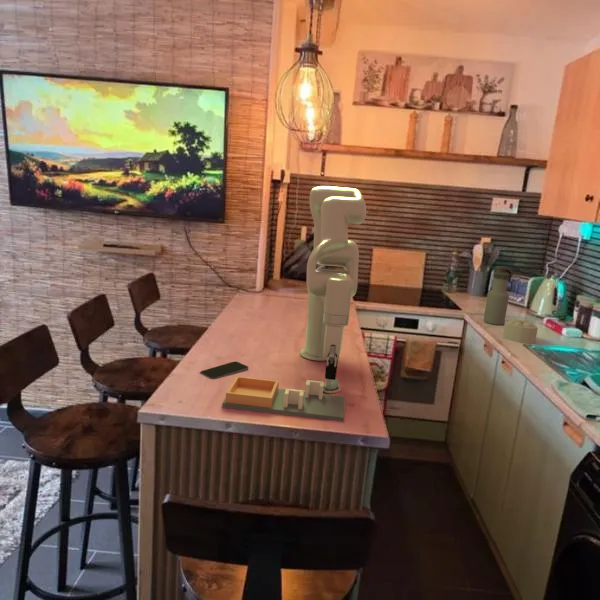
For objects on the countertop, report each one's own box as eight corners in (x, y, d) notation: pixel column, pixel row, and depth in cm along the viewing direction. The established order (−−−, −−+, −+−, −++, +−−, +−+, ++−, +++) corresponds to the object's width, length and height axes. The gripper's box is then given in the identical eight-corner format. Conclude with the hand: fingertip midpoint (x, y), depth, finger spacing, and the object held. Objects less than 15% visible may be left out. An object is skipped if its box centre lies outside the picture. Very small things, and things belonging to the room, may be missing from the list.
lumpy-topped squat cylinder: (510, 334, 238) (513, 315, 236) (539, 341, 229) (542, 322, 227) (500, 337, 231) (503, 319, 229) (529, 345, 222) (533, 326, 220)
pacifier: (345, 391, 160) (330, 384, 164) (347, 372, 158) (333, 365, 162) (329, 396, 155) (314, 389, 159) (331, 377, 153) (316, 370, 157)
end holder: (236, 384, 154) (236, 376, 154) (278, 389, 153) (278, 380, 152) (225, 402, 142) (226, 392, 141) (271, 407, 141) (271, 398, 140)
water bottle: (495, 319, 262) (505, 265, 256) (509, 325, 254) (519, 268, 247) (479, 320, 259) (488, 264, 253) (491, 325, 250) (501, 268, 244)
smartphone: (198, 371, 165) (235, 360, 175) (198, 374, 165) (235, 363, 175) (212, 378, 160) (249, 367, 170) (212, 382, 160) (249, 370, 171)
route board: (234, 387, 155) (235, 371, 154) (344, 400, 152) (346, 383, 151) (222, 407, 142) (223, 389, 140) (343, 421, 139) (345, 403, 138)
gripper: (325, 311, 163) (320, 363, 166) (321, 324, 146) (316, 382, 149) (349, 313, 162) (344, 366, 166) (348, 326, 145) (342, 384, 149)
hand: (331, 373), depth 157 cm, fingers open, 9 cm apart
